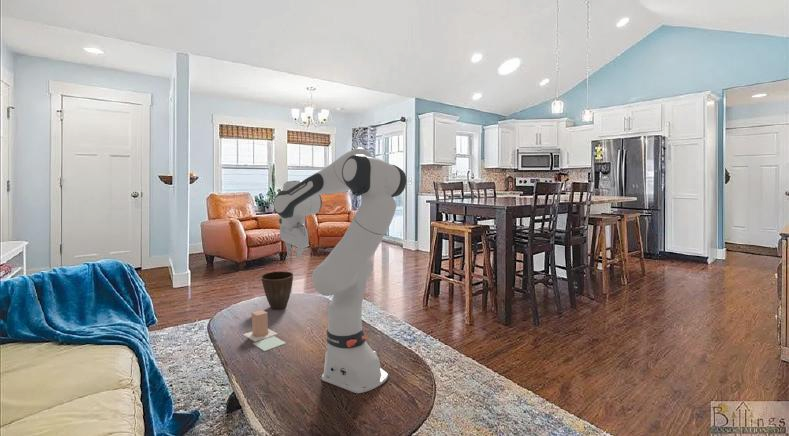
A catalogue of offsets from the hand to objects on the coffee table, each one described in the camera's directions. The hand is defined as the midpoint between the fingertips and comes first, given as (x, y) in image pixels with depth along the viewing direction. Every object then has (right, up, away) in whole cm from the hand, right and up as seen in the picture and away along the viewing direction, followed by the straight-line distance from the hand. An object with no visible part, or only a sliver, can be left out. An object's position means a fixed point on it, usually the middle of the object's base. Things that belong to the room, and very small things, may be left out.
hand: (294, 255), depth 156 cm
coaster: (-7, -34, -8) cm, 35 cm away
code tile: (-14, -33, +1) cm, 36 cm away
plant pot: (-16, -29, +33) cm, 47 cm away
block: (-14, -32, +1) cm, 35 cm away
